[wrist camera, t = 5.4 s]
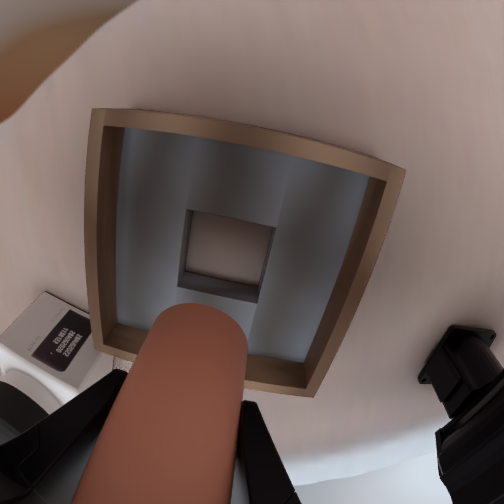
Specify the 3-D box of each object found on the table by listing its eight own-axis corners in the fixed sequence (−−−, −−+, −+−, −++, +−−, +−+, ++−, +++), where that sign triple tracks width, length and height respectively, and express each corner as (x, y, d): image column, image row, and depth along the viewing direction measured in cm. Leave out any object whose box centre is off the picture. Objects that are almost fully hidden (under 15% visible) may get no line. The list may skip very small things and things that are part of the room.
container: (44, 289, 22) (-48, 388, 10) (119, 326, 23) (44, 456, 11) (47, 347, 25) (-18, 439, 13) (112, 381, 26) (60, 490, 14)
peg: (257, 315, 10) (230, 613, 2) (238, 384, 12) (209, 604, 4) (153, 292, 10) (23, 547, 2) (151, 364, 12) (75, 566, 3)
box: (376, 157, 17) (406, 170, 13) (308, 353, 23) (313, 397, 19) (129, 108, 16) (92, 108, 12) (118, 313, 22) (94, 349, 18)
